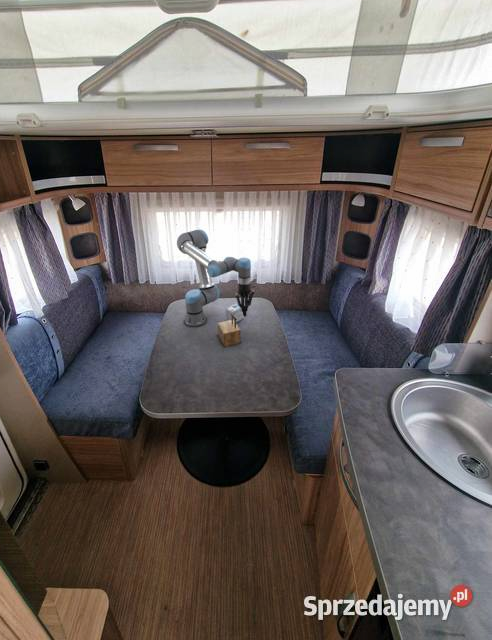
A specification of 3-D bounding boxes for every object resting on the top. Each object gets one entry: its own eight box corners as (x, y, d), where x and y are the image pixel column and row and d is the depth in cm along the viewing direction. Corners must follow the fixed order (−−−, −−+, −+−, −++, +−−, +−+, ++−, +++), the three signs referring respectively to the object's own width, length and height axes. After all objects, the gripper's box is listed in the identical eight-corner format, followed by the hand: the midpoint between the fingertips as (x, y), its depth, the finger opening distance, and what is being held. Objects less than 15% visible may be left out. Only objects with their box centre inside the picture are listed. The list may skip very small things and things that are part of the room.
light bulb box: (236, 315, 214) (235, 303, 209) (242, 318, 209) (242, 306, 205) (226, 321, 207) (225, 308, 202) (232, 324, 202) (232, 311, 198)
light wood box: (224, 346, 180) (223, 323, 173) (218, 335, 192) (217, 313, 184) (240, 342, 183) (240, 320, 176) (233, 331, 195) (232, 310, 187)
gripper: (236, 287, 169) (237, 320, 179) (256, 283, 173) (256, 316, 183) (232, 282, 176) (233, 314, 185) (251, 278, 179) (251, 310, 189)
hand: (244, 315), depth 184 cm, fingers closed
